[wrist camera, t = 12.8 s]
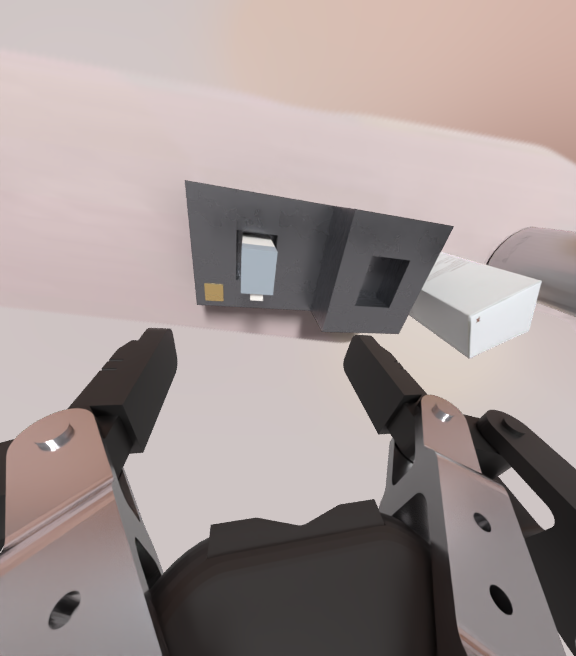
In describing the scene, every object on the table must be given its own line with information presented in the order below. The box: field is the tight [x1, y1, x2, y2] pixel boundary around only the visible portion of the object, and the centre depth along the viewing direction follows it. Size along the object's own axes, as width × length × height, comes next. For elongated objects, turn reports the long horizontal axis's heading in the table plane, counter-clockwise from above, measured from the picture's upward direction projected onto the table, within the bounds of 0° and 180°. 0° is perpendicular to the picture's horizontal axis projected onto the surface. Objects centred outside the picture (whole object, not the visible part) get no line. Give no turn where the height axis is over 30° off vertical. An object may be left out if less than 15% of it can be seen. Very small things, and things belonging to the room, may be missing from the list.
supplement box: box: [409, 252, 542, 358], centre depth 27 cm, size 7×7×13 cm
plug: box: [241, 233, 278, 301], centre depth 22 cm, size 3×5×8 cm, turn 172°
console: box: [185, 180, 454, 334], centre depth 23 cm, size 24×12×9 cm, turn 82°
